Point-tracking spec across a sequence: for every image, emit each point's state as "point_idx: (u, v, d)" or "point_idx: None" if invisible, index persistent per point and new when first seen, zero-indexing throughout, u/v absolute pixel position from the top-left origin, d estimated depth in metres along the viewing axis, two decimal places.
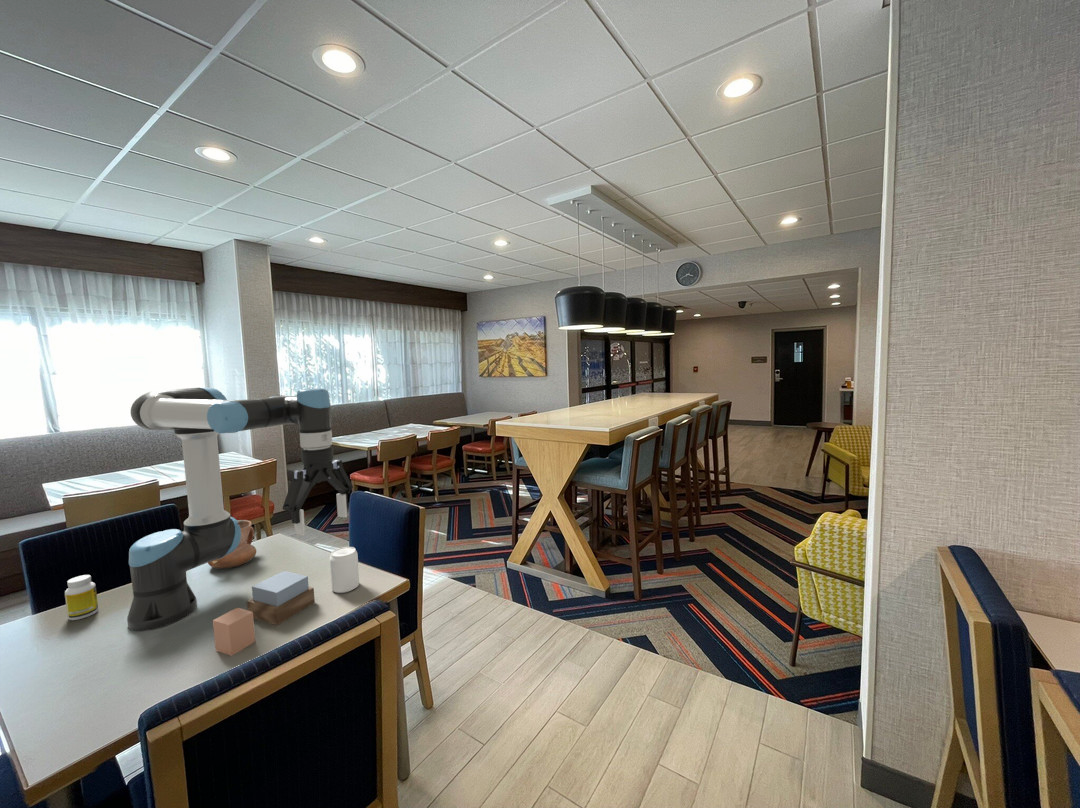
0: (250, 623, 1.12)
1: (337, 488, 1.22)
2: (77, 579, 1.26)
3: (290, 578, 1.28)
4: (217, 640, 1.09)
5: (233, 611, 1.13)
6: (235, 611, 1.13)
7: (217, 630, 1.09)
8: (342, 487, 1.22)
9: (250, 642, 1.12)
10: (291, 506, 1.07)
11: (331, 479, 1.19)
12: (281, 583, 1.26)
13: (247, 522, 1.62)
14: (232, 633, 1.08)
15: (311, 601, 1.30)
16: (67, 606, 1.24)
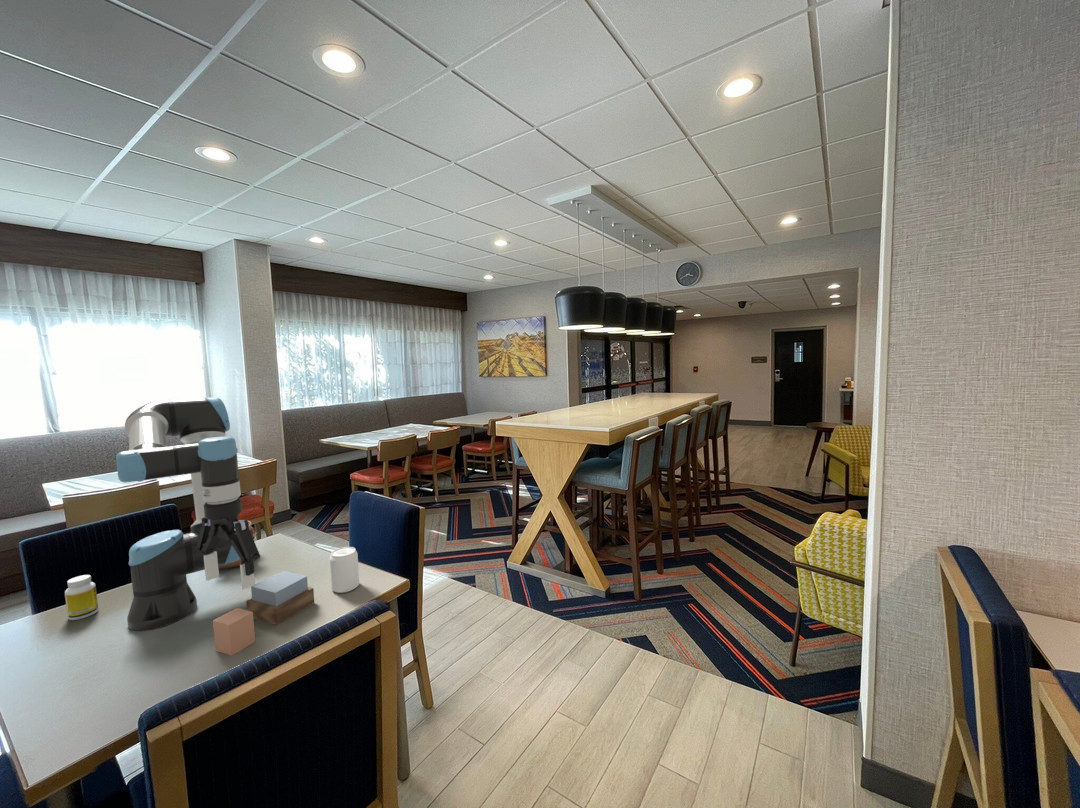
0: (250, 623, 1.12)
1: None
2: (77, 579, 1.26)
3: (289, 578, 1.28)
4: (217, 640, 1.09)
5: (233, 611, 1.13)
6: (235, 611, 1.13)
7: (217, 630, 1.09)
8: (239, 554, 1.05)
9: (250, 642, 1.12)
10: (197, 547, 1.11)
11: None
12: (281, 583, 1.26)
13: None
14: (232, 633, 1.08)
15: (310, 601, 1.30)
16: (67, 606, 1.24)
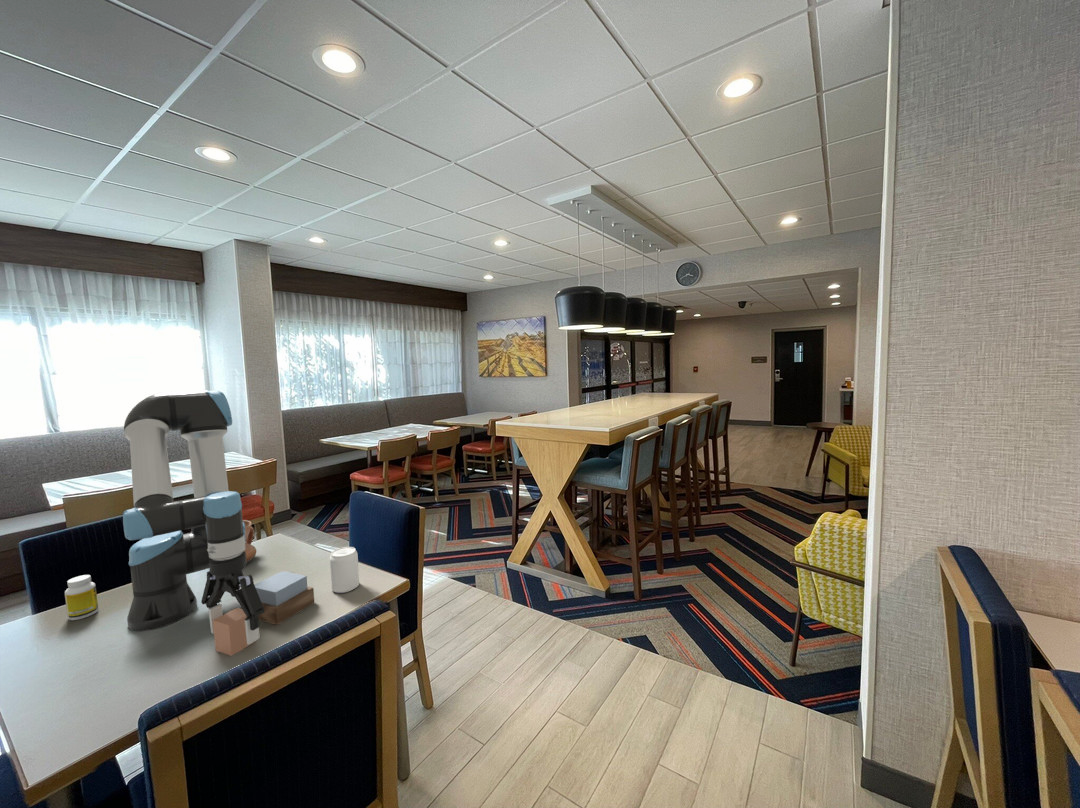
0: None
1: None
2: (77, 579, 1.26)
3: (288, 578, 1.28)
4: (217, 640, 1.09)
5: (233, 611, 1.13)
6: (235, 611, 1.13)
7: (217, 630, 1.09)
8: (244, 609, 1.07)
9: None
10: (202, 600, 1.13)
11: None
12: (280, 583, 1.26)
13: (247, 522, 1.62)
14: (232, 633, 1.08)
15: (310, 601, 1.30)
16: (67, 606, 1.24)
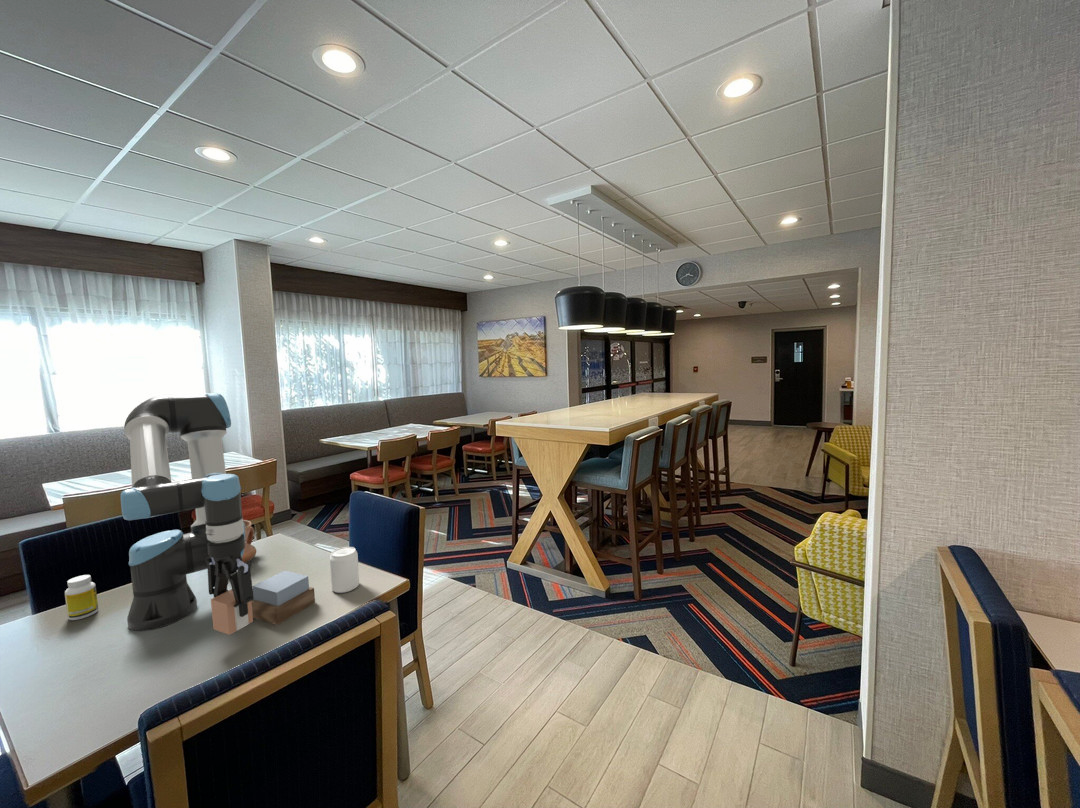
0: (248, 603, 1.12)
1: None
2: (77, 579, 1.26)
3: (290, 578, 1.28)
4: (215, 619, 1.09)
5: (231, 591, 1.13)
6: None
7: (215, 609, 1.09)
8: (235, 595, 1.08)
9: None
10: (209, 590, 1.12)
11: None
12: (282, 583, 1.26)
13: (247, 522, 1.62)
14: (230, 613, 1.08)
15: (311, 601, 1.30)
16: (67, 606, 1.24)
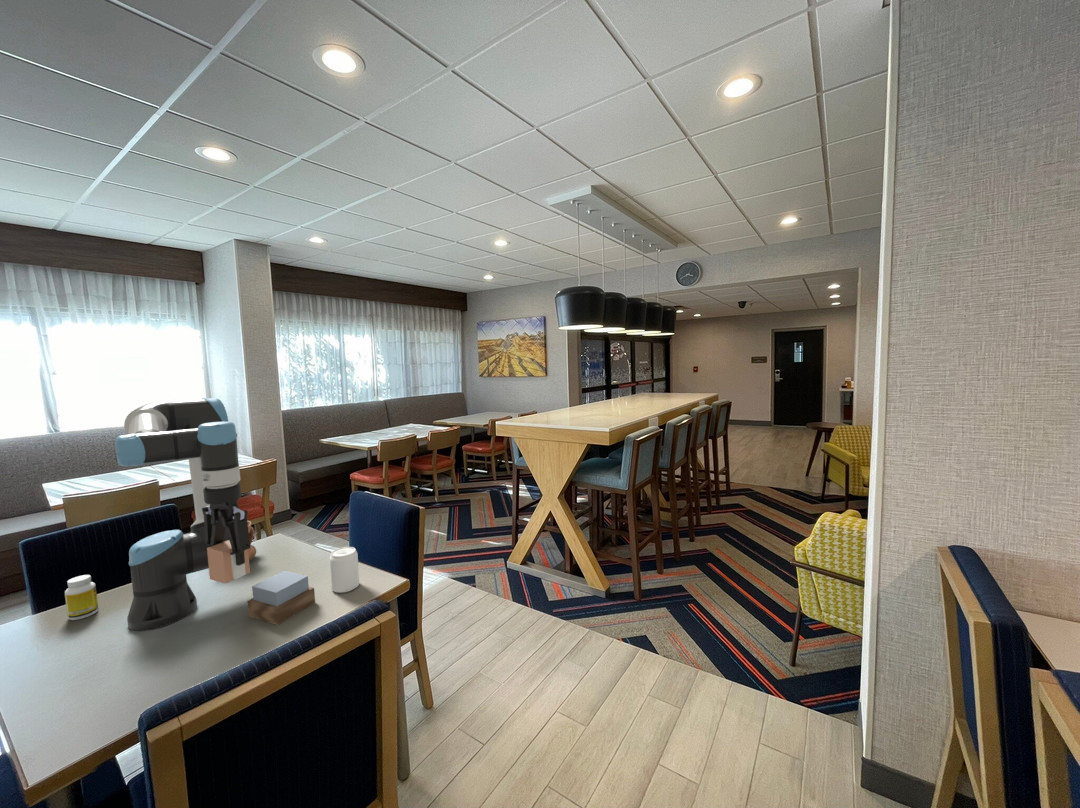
0: (245, 553, 1.10)
1: None
2: (77, 579, 1.26)
3: (290, 578, 1.28)
4: (211, 568, 1.08)
5: (228, 541, 1.11)
6: None
7: (211, 558, 1.07)
8: (231, 543, 1.07)
9: (245, 572, 1.10)
10: (205, 541, 1.10)
11: None
12: (281, 583, 1.26)
13: (247, 522, 1.62)
14: (226, 561, 1.06)
15: (311, 601, 1.30)
16: (67, 606, 1.24)
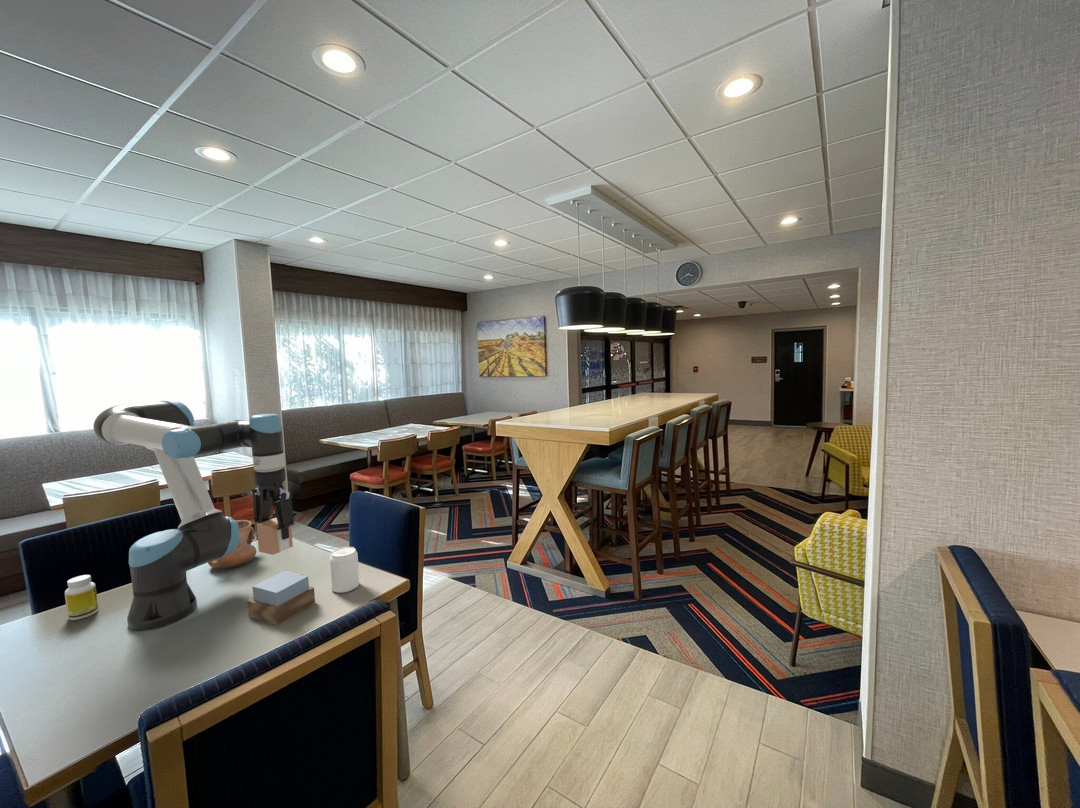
0: None
1: None
2: (77, 579, 1.26)
3: (290, 578, 1.28)
4: (260, 542, 1.23)
5: (273, 519, 1.27)
6: (275, 519, 1.27)
7: (261, 533, 1.23)
8: (278, 520, 1.22)
9: None
10: (254, 518, 1.26)
11: None
12: (282, 583, 1.26)
13: (247, 522, 1.62)
14: (274, 535, 1.22)
15: (311, 601, 1.30)
16: (67, 606, 1.24)
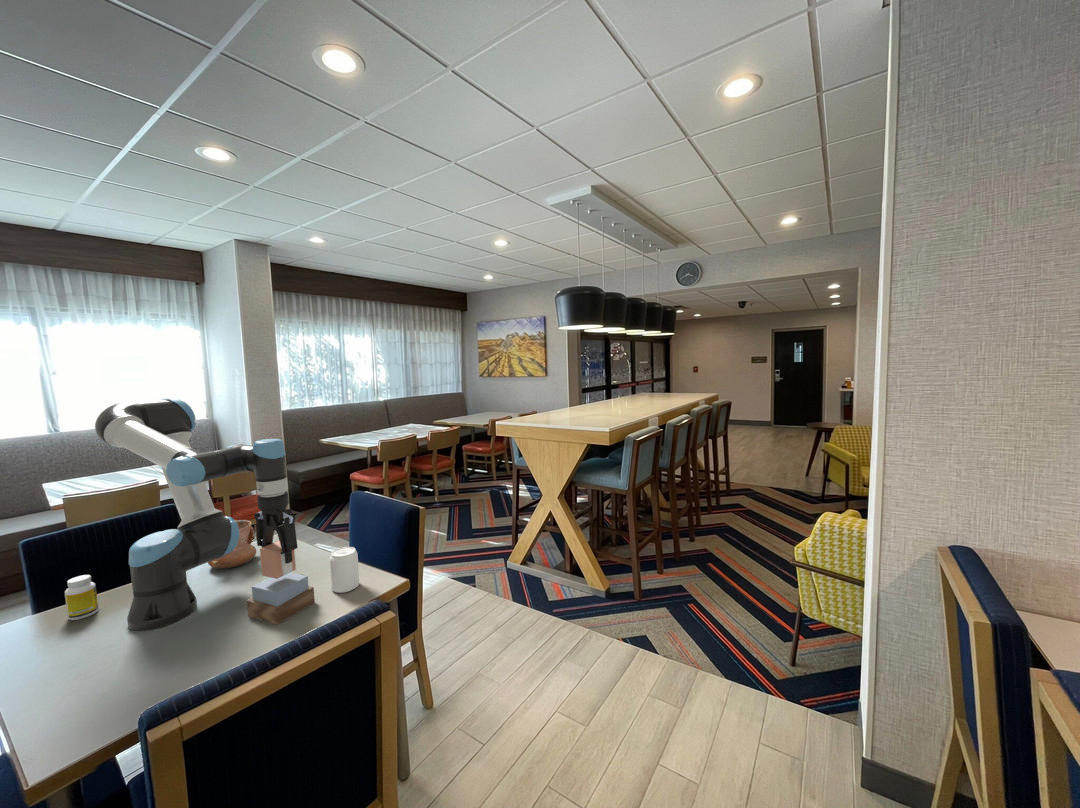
0: (292, 552, 1.27)
1: None
2: (77, 579, 1.26)
3: (289, 578, 1.28)
4: (263, 566, 1.24)
5: (276, 542, 1.28)
6: (278, 542, 1.28)
7: (264, 557, 1.24)
8: (281, 544, 1.23)
9: None
10: (257, 542, 1.27)
11: None
12: (281, 583, 1.26)
13: (247, 522, 1.62)
14: (277, 559, 1.23)
15: (311, 601, 1.30)
16: (67, 606, 1.24)
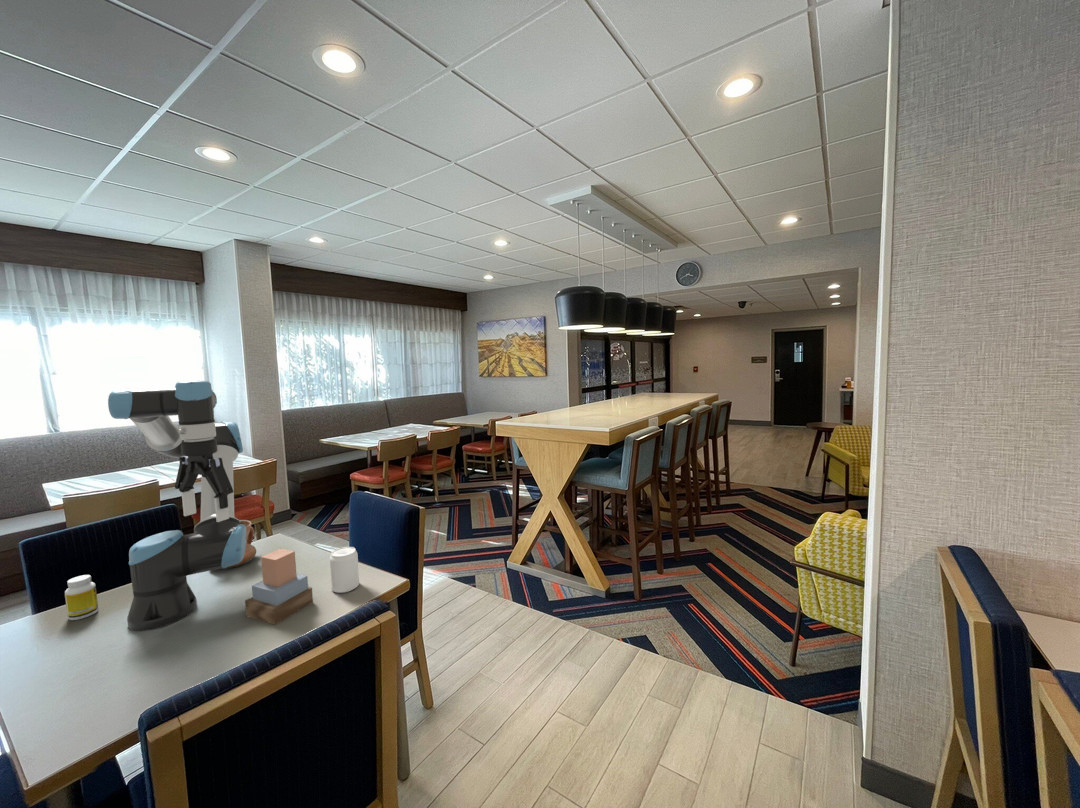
0: (292, 561, 1.28)
1: None
2: (77, 579, 1.26)
3: None
4: (265, 574, 1.25)
5: (277, 551, 1.29)
6: (279, 551, 1.29)
7: (265, 565, 1.25)
8: (213, 489, 1.13)
9: (292, 577, 1.28)
10: (175, 485, 1.19)
11: None
12: None
13: (247, 522, 1.62)
14: (278, 568, 1.24)
15: (309, 601, 1.30)
16: (67, 606, 1.24)
